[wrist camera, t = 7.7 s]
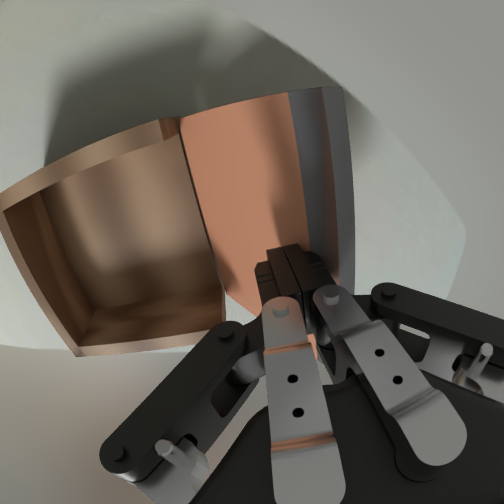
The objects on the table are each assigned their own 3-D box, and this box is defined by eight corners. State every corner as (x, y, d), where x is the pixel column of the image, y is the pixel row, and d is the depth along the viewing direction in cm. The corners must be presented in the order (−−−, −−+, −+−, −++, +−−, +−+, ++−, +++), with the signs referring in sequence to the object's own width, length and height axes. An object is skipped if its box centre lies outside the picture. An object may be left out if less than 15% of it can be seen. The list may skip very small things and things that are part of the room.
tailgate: (226, 293, 24) (336, 372, 15) (177, 119, 16) (321, 87, 8) (237, 287, 24) (349, 360, 15) (193, 115, 17) (341, 86, 8)
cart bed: (100, 302, 26) (76, 356, 19) (43, 171, 19) (-11, 201, 12) (224, 277, 26) (226, 338, 19) (180, 116, 19) (157, 119, 12)
